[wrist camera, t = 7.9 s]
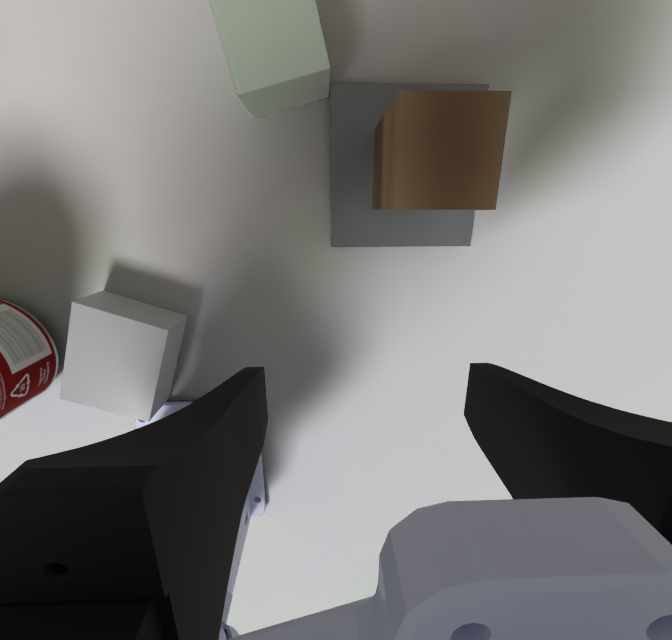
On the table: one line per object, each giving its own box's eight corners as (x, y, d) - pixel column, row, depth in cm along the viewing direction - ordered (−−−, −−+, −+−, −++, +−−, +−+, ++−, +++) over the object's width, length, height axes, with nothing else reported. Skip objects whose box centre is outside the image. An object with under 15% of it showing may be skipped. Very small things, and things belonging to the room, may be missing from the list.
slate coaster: (466, 244, 20) (470, 245, 20) (331, 245, 20) (331, 246, 20) (483, 88, 18) (488, 84, 17) (329, 87, 18) (330, 83, 17)
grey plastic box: (170, 395, 23) (148, 422, 20) (93, 374, 22) (59, 398, 20) (189, 314, 21) (168, 330, 18) (106, 289, 21) (71, 301, 18)
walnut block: (372, 209, 19) (393, 209, 13) (374, 128, 18) (399, 89, 12) (443, 209, 19) (495, 209, 13) (451, 128, 18) (511, 91, 12)
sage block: (328, 97, 18) (330, 67, 14) (255, 118, 18) (237, 95, 14) (307, 5, 17) (303, -55, 13) (228, 29, 17) (201, -23, 13)
